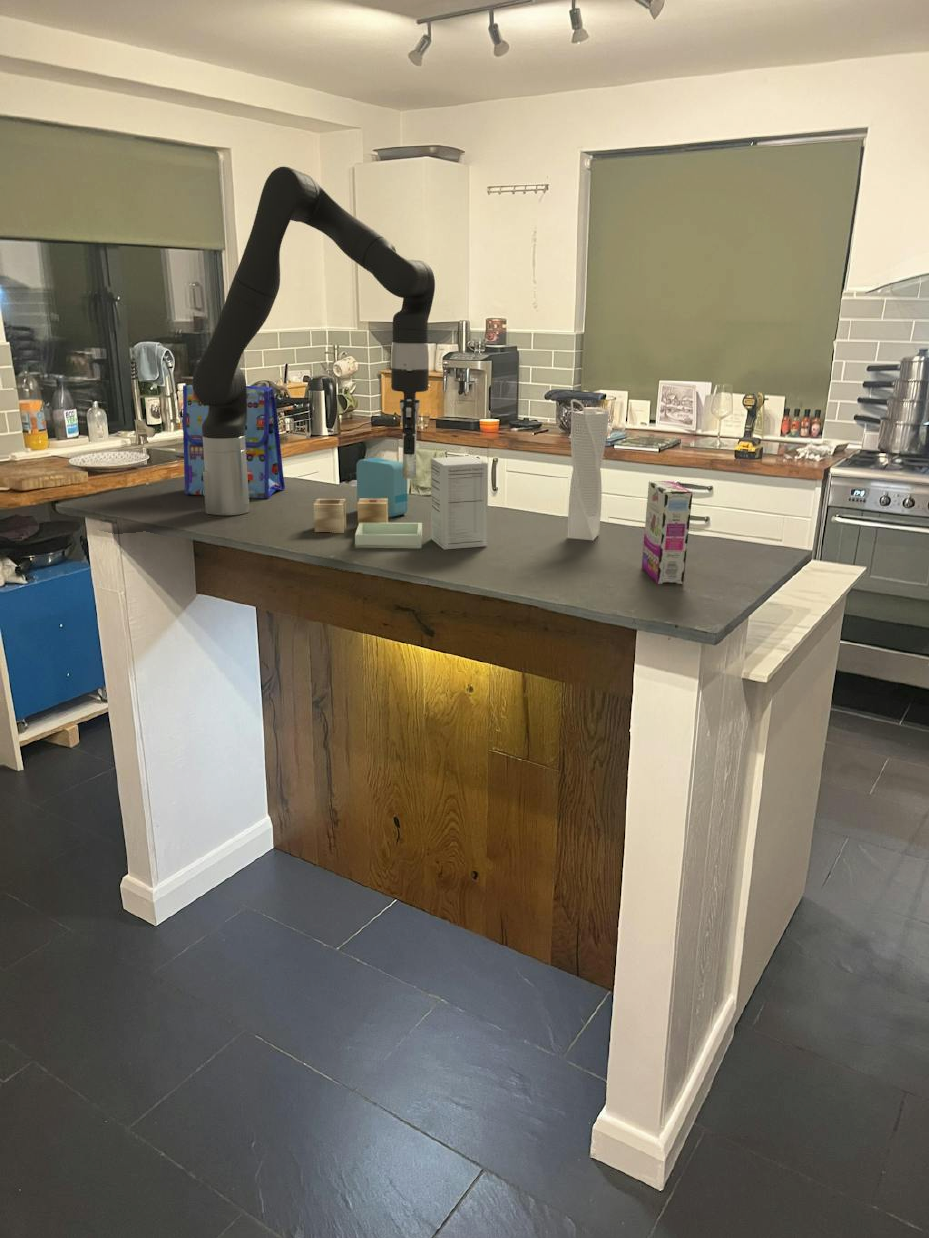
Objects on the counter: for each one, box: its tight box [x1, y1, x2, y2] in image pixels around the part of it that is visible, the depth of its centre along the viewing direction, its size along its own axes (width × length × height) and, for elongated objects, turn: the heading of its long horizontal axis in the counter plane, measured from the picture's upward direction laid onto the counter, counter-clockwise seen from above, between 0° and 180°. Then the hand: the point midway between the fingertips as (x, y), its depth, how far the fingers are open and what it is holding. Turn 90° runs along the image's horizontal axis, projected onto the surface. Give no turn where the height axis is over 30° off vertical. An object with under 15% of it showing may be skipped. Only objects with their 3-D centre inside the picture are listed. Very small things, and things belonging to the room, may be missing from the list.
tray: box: [354, 522, 423, 549], centre depth 189 cm, size 13×11×3 cm
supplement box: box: [430, 455, 489, 551], centre depth 186 cm, size 10×9×17 cm
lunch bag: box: [181, 384, 286, 499], centre depth 231 cm, size 22×14×29 cm, turn 82°
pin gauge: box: [402, 423, 418, 480], centre depth 192 cm, size 3×3×14 cm
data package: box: [355, 457, 408, 518], centre depth 213 cm, size 12×4×12 cm, turn 50°
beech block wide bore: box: [313, 498, 347, 534], centre depth 198 cm, size 6×6×6 cm
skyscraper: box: [567, 398, 609, 541], centre depth 191 cm, size 8×8×28 cm
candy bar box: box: [641, 480, 694, 586], centre depth 165 cm, size 11×5×16 cm, turn 5°
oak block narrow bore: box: [357, 498, 389, 526], centre depth 199 cm, size 6×6×6 cm
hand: (409, 452), depth 193 cm, fingers closed on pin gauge, 2 cm apart
